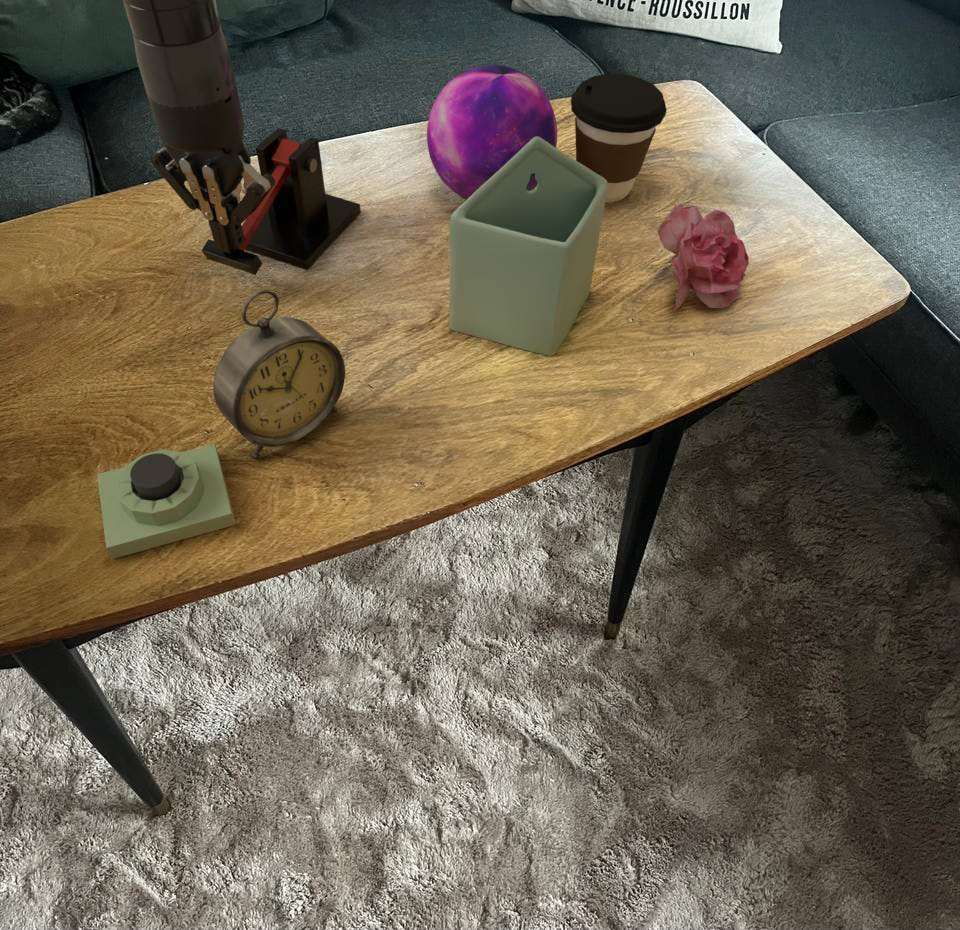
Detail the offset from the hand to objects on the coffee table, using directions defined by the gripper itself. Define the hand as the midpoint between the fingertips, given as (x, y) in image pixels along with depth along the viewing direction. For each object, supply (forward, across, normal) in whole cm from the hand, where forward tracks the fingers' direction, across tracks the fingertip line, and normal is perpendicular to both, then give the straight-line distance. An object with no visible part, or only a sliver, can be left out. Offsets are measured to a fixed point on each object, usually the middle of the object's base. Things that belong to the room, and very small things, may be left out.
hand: (231, 247), depth 85 cm
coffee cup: (+6, +29, +36) cm, 46 cm away
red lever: (0, 0, +7) cm, 7 cm away
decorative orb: (+6, +16, +28) cm, 33 cm away
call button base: (+5, +11, -26) cm, 29 cm away
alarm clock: (+6, +15, -15) cm, 22 cm away
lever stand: (+6, 0, +12) cm, 13 cm away
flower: (+6, +44, +22) cm, 50 cm away
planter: (+6, +31, +8) cm, 32 cm away
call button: (+2, +11, -26) cm, 29 cm away
